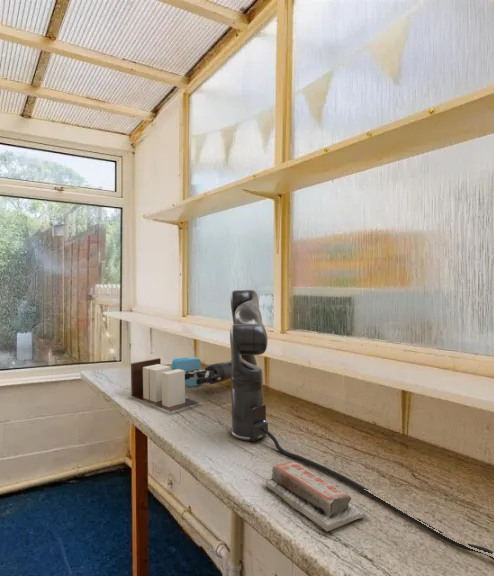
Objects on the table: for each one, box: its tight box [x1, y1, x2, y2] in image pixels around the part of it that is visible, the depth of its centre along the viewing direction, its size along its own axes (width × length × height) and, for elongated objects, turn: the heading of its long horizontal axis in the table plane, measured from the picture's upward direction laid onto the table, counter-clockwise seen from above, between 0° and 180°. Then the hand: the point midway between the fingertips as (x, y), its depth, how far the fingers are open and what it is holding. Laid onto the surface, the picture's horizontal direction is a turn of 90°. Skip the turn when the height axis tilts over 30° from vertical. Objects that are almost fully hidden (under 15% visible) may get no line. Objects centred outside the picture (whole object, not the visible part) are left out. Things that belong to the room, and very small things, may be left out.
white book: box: [143, 363, 165, 400], centre depth 150 cm, size 4×8×12 cm, turn 130°
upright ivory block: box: [162, 369, 186, 407], centre depth 141 cm, size 4×8×12 cm, turn 130°
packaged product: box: [265, 461, 365, 532], centre depth 80 cm, size 18×5×10 cm
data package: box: [171, 356, 202, 388], centre depth 169 cm, size 12×4×12 cm, turn 113°
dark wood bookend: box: [130, 357, 200, 412], centre depth 147 cm, size 25×14×14 cm, turn 40°
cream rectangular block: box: [149, 364, 172, 402], centre depth 147 cm, size 4×8×12 cm, turn 135°
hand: (189, 379), depth 146 cm, fingers open, 8 cm apart
